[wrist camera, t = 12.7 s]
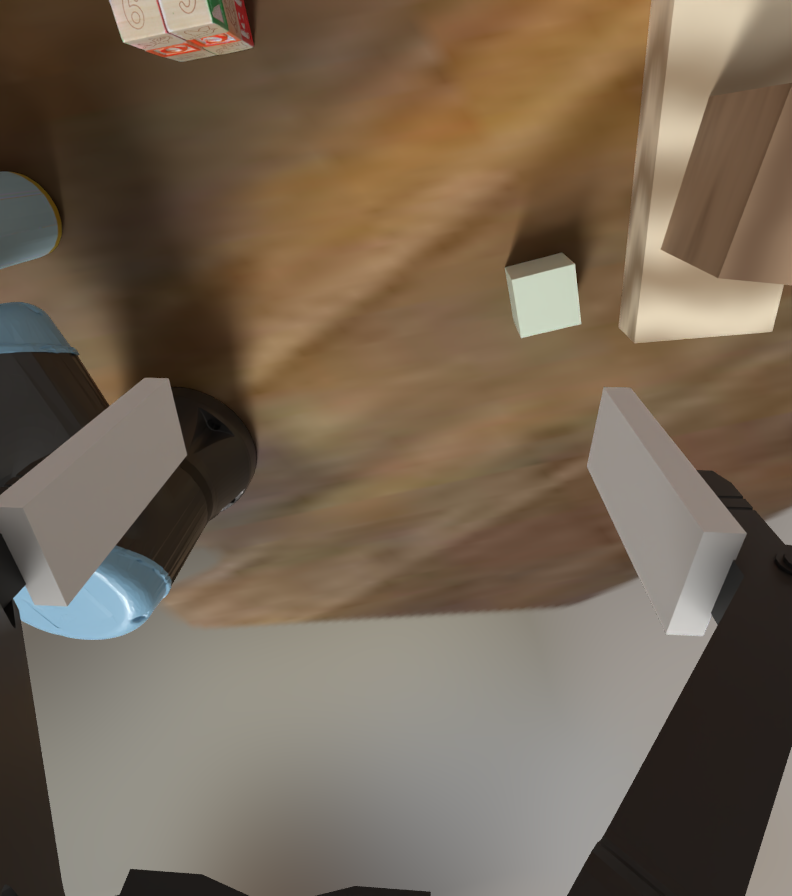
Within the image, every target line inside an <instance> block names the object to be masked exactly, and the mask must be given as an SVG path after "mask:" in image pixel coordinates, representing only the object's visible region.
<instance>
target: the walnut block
mask: <svg viewBox="0 0 792 896" xmlns="http://www.w3.org/2000/svg"><path fill="white" fill-rule="evenodd" d="M661 250H662V251H664V252H666V253H668V254H670V255H672V256H674V257H676V258H678V259H680V260H682V261H684V262H686V263H688V264H690V265H692V266H694V267H696V268H698V269H700V270H703V271H705V272H707V273H709V274H711V275H713V276H715V277H717V278H720V279H731V280H741V281H752V282H762V283H772V284H783V285H792V83H787V84H781V85H775V86H769V87H763V88H757V89H752V90H746V91H740V92H734V93H728V94H722V95H716V96H710V97H709V99H708V102H707V105H706V108H705V111H704V114H703V117H702V121H701V124H700V127H699V130H698V133H697V136H696V139H695V143H694V146H693V149H692V152H691V155H690V158H689V161H688V165H687V168H686V171H685V174H684V177H683V180H682V184H681V187H680V190H679V193H678V196H677V199H676V202H675V206H674V209H673V212H672V215H671V218H670V221H669V224H668V228H667V231H666V234H665V237H664V240H663V243H662V246H661Z"/></svg>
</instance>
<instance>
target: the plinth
mask: <svg viewBox="0 0 792 896" xmlns="http://www.w3.org/2000/svg"><path fill="white" fill-rule="evenodd" d="M787 83H792V0H651V10H650V20H649V30H648V40H647V50H646V60H645V70H644V80H643V90H642V100H641V110H640V120H639V130H638V140H637V150H636V160H635V170H634V180H633V190H632V200H631V210H630V220H629V230H628V240H627V250H626V260H625V270H624V280H623V290H622V300H621V310H620V320H619V328H620V329H621V330H622V331H623V332H624V333H625V334H626V335H627V336H628V337H629V338H630V339H631V340H632V341H633V342H634V343H643V342H655V341H667V340H679V339H691V338H702V337H714V336H726V335H738V334H750V333H762V332H772V330H773V326H774V322H775V318H776V314H777V310H778V306H779V302H780V298H781V294H782V290H783V286H784V285H783V284H772V283H762V282H752V281H741V280H731V279H720V278H717V277H715V276H713V275H711V274H709V273H707V272H705V271H703V270H700V269H698V268H696V267H694V266H692V265H690V264H688V263H686V262H684V261H682V260H680V259H678V258H676V257H674V256H672V255H670V254H668V253H666V252H664V251H662V250H661V246H662V243H663V240H664V237H665V234H666V231H667V228H668V224H669V221H670V218H671V215H672V212H673V209H674V206H675V202H676V199H677V196H678V193H679V190H680V187H681V184H682V180H683V177H684V174H685V171H686V168H687V165H688V161H689V158H690V155H691V152H692V149H693V146H694V143H695V139H696V136H697V133H698V130H699V127H700V124H701V121H702V117H703V114H704V111H705V108H706V105H707V102H708V99H709V97H710V96H716V95H722V94H728V93H734V92H740V91H746V90H752V89H757V88H763V87H769V86H775V85H781V84H787Z"/></svg>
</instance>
